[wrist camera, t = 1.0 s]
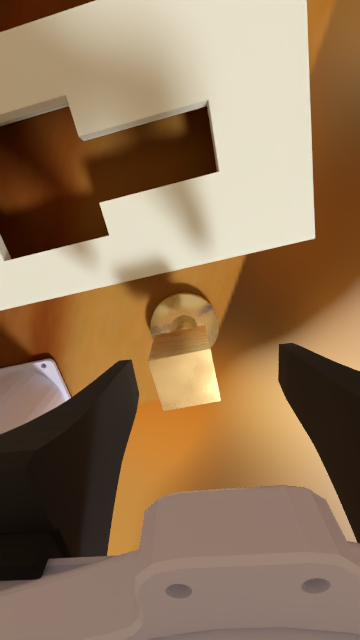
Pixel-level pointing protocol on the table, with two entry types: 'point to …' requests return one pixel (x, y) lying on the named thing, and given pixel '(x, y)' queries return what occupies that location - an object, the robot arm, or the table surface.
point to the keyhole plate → (161, 102)
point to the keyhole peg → (184, 351)
